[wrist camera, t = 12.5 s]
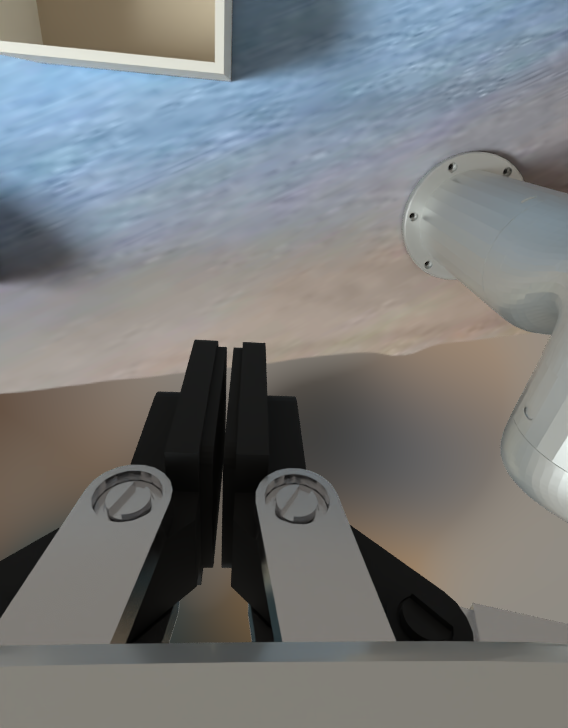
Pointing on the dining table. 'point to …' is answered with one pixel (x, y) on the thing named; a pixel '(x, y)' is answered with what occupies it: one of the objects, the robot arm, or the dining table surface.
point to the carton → (122, 35)
